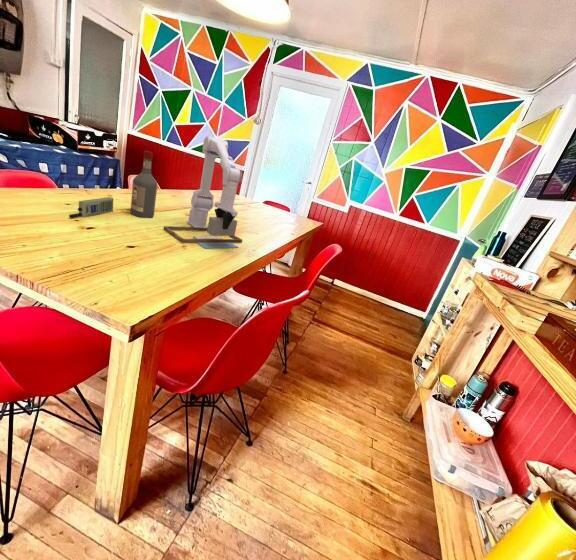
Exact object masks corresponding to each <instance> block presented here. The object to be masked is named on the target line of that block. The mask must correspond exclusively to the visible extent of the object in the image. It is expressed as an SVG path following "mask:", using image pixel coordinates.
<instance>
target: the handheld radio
mask: <svg viewBox="0 0 576 560" xmlns="http://www.w3.org/2000/svg"><path fill="white" fill-rule="evenodd" d="M77 202H78V204H77V206H78V207H77V211H78V213H71V214H68V217H69V218H70V219H72V218H76V217H77V218H78V217H80V218H87V217H93V216H98V215H103V214H104V215H105V214H108V213H113V212H114V197H111V196H110V197H109V196H108V197H100V198H92V199H91V198H90V199H85V200H78V201H77Z"/></svg>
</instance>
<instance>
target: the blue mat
mask: <svg viewBox="0 0 576 560" xmlns="http://www.w3.org/2000/svg"><path fill="white" fill-rule="evenodd" d="M197 245H199V246H200V247H202V248H204V249H205V250H206V249H211V250H212V249H239V246H238V245H235V243H197Z"/></svg>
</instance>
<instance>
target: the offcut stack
mask: <svg viewBox="0 0 576 560" xmlns="http://www.w3.org/2000/svg"><path fill="white" fill-rule="evenodd" d="M192 239H223V238H222V237H218V236H212V235H193V238H192Z"/></svg>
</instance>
